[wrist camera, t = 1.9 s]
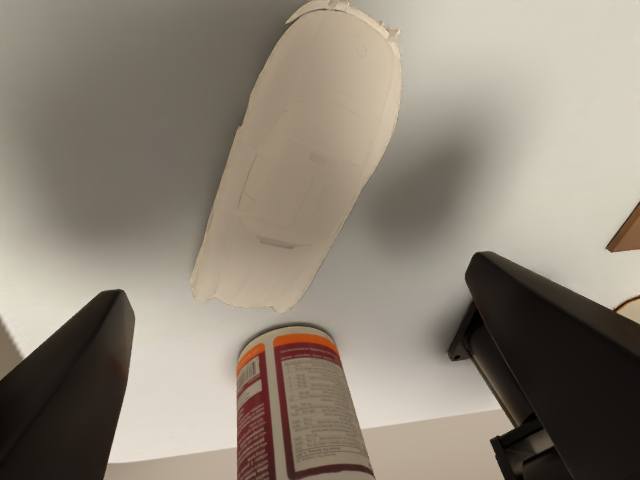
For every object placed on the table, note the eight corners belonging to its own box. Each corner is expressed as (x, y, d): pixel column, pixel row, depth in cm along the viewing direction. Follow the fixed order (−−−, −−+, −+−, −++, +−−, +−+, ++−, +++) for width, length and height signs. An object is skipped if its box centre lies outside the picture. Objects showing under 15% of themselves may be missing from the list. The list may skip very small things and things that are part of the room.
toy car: (187, 275, 15) (176, 338, 12) (282, -36, 9) (303, -44, 6) (285, 291, 17) (295, 349, 14) (416, 46, 11) (475, 65, 8)
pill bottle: (259, 391, 22) (275, 656, 13) (218, 343, 18) (204, 673, 10) (344, 362, 22) (417, 608, 13) (322, 308, 18) (404, 605, 9)
